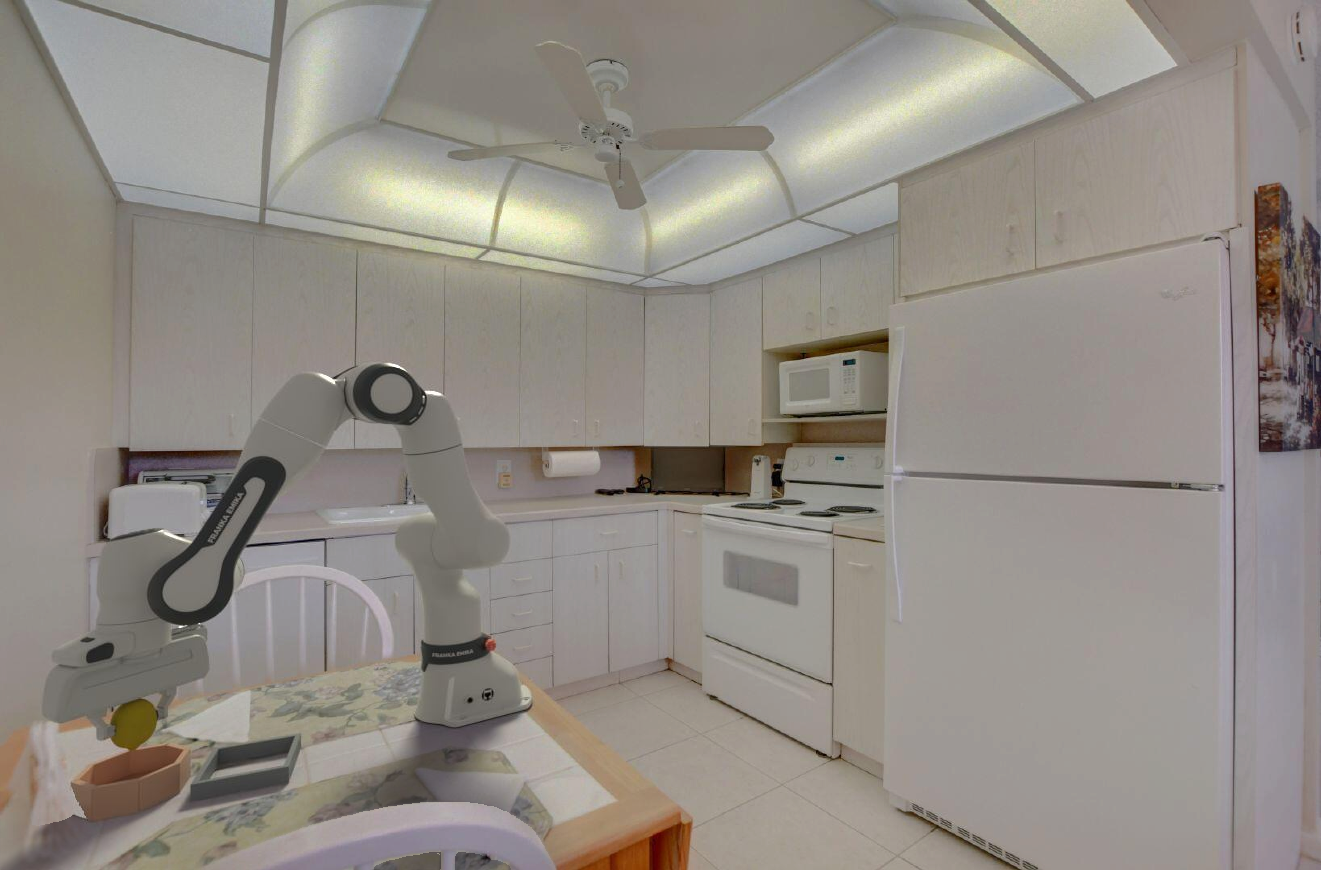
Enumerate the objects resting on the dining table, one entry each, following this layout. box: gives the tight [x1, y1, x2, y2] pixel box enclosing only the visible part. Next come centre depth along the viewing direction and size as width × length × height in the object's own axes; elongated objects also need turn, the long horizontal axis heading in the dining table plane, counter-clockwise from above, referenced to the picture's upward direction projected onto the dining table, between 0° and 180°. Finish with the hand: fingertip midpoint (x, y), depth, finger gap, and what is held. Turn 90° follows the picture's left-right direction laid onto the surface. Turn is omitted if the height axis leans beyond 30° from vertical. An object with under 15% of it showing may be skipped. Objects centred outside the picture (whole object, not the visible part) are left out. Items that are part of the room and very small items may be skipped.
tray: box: [189, 732, 302, 803], centre depth 99 cm, size 13×13×2 cm
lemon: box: [109, 698, 158, 751], centre depth 93 cm, size 6×6×8 cm
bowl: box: [70, 742, 192, 822], centre depth 93 cm, size 13×13×4 cm
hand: (133, 728), depth 93 cm, fingers closed on lemon, 6 cm apart
